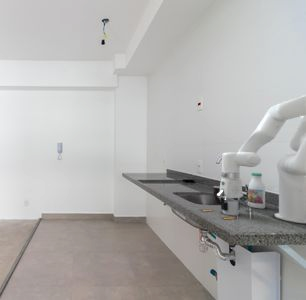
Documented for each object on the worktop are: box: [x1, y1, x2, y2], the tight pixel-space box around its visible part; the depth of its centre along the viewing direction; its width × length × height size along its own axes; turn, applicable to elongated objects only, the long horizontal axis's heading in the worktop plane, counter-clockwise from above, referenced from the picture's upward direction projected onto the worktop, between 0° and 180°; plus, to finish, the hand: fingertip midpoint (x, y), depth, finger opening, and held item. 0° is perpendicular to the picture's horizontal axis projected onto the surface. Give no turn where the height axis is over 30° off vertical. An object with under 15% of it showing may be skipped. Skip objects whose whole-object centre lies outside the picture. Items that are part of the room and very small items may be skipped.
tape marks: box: [201, 209, 236, 220], centre depth 107 cm, size 6×14×1 cm, turn 13°
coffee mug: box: [212, 185, 225, 205], centre depth 130 cm, size 12×9×10 cm
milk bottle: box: [247, 172, 266, 209], centre depth 122 cm, size 8×8×20 cm
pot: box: [221, 198, 240, 216], centre depth 109 cm, size 7×7×7 cm
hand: (230, 209), depth 109 cm, fingers closed on pot, 6 cm apart
